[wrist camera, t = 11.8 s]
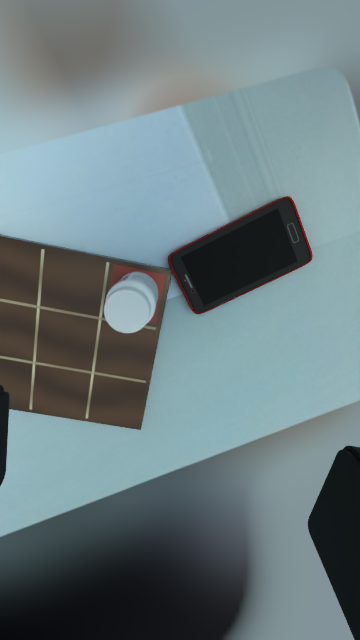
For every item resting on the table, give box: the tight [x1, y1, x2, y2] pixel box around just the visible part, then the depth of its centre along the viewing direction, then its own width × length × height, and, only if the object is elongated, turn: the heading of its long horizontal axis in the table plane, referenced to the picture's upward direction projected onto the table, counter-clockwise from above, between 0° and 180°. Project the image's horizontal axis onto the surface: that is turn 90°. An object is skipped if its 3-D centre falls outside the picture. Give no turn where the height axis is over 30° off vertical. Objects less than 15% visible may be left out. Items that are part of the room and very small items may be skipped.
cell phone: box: [168, 196, 312, 314], centre depth 35 cm, size 8×15×1 cm, turn 116°
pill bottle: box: [104, 271, 159, 333], centre depth 31 cm, size 5×5×8 cm
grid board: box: [0, 235, 172, 430], centre depth 37 cm, size 21×21×1 cm
